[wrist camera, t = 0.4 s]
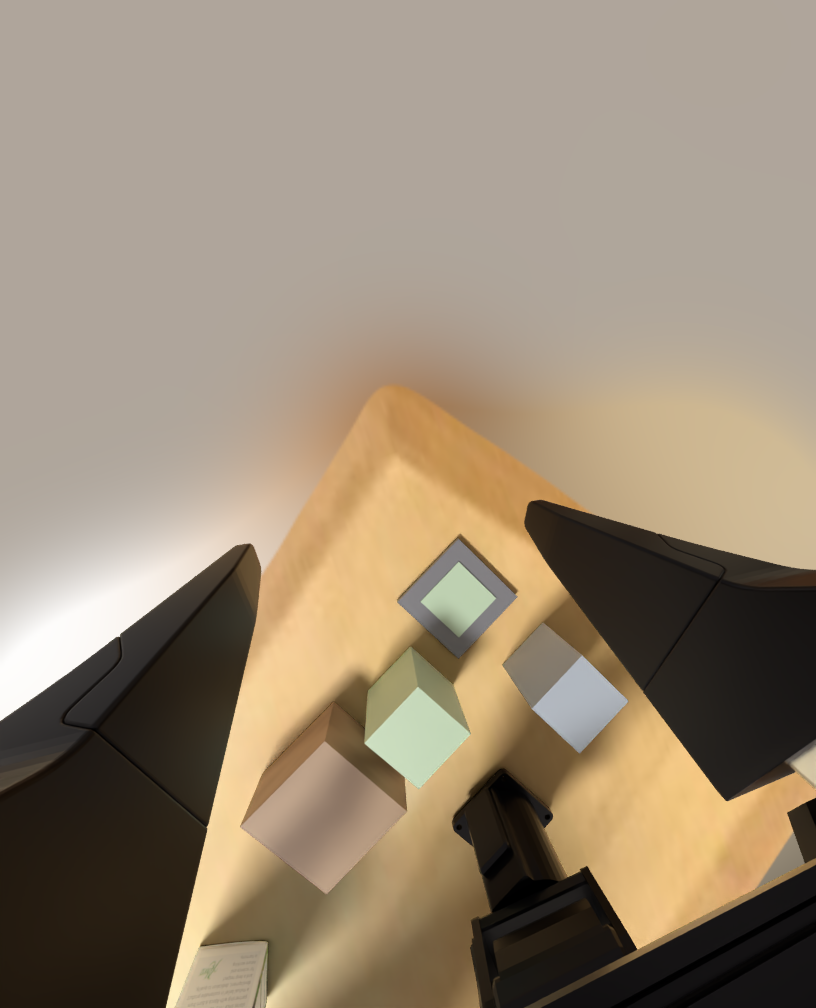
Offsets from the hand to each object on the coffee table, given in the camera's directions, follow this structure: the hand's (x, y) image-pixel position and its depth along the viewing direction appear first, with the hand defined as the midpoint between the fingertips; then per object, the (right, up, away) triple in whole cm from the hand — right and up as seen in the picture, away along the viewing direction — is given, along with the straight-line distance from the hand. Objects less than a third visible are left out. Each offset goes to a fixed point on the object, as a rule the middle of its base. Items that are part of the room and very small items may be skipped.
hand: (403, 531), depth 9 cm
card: (+4, -7, +15) cm, 17 cm away
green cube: (0, -14, +15) cm, 21 cm away
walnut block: (-6, -21, +15) cm, 26 cm away
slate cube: (+12, -13, +16) cm, 23 cm away
